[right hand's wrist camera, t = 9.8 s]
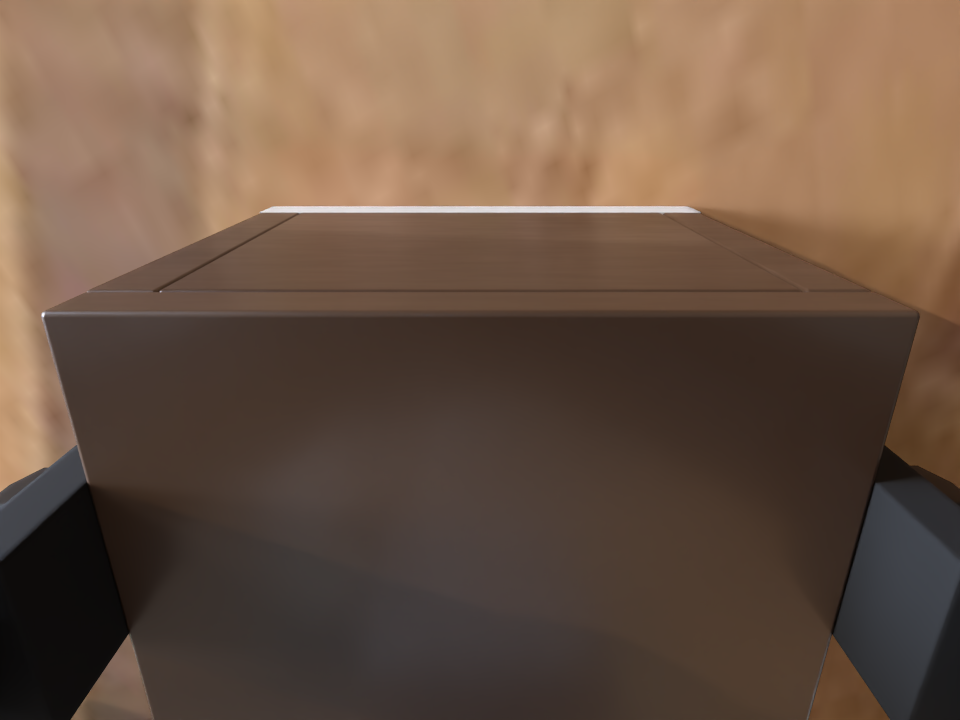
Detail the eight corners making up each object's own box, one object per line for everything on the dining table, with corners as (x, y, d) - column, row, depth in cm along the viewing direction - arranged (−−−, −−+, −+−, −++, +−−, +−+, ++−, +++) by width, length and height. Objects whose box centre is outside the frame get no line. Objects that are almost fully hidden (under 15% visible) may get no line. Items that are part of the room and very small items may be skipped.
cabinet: (635, 638, 21) (737, 983, 13) (325, 637, 21) (223, 982, 13) (688, 206, 16) (925, 311, 7) (273, 206, 16) (34, 310, 7)
